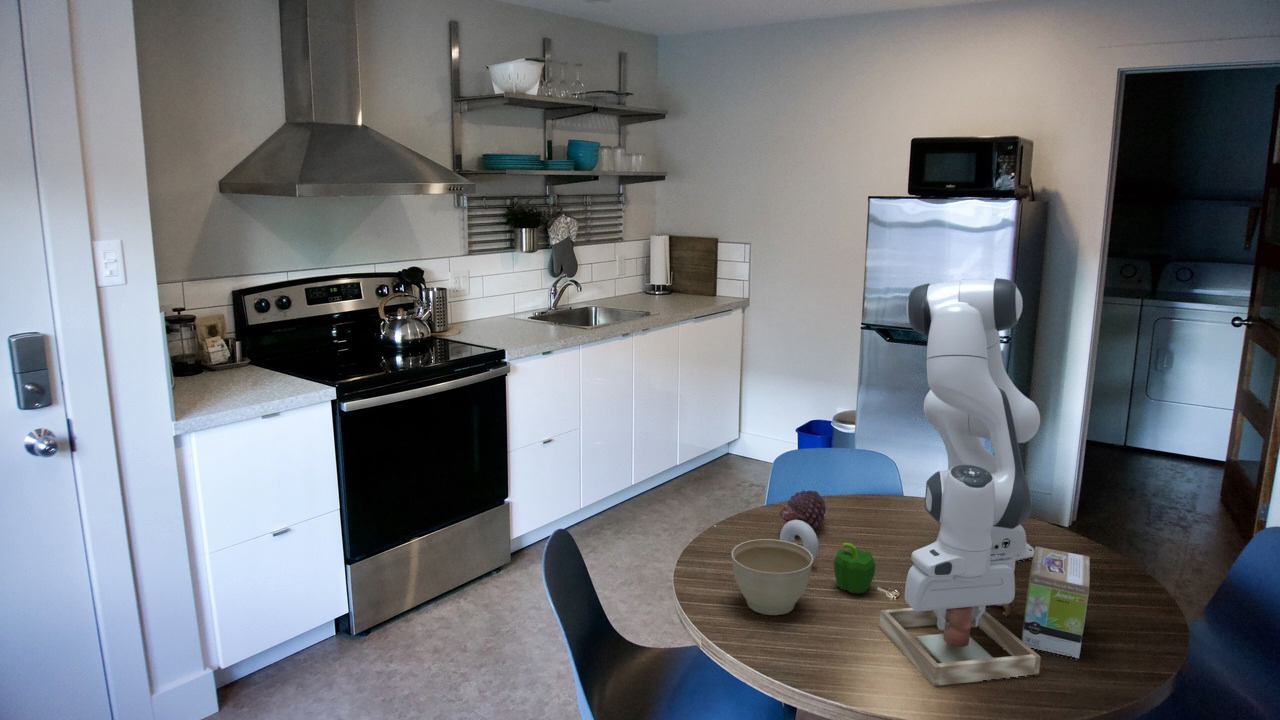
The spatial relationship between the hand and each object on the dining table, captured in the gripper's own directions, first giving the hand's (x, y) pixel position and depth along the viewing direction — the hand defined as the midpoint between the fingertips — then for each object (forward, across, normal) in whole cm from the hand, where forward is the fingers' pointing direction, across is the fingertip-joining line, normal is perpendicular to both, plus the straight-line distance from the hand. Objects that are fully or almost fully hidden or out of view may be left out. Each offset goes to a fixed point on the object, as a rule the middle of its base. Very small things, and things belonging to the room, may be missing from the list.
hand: (956, 627), depth 153 cm
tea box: (+5, -21, -2) cm, 22 cm away
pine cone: (+5, +6, -58) cm, 58 cm away
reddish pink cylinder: (+3, 0, 0) cm, 3 cm away
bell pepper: (+5, +8, -26) cm, 28 cm away
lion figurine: (+5, -15, -15) cm, 22 cm away
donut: (+5, +15, -40) cm, 43 cm away
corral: (+4, 0, 0) cm, 5 cm away
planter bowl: (+5, +28, -22) cm, 36 cm away
